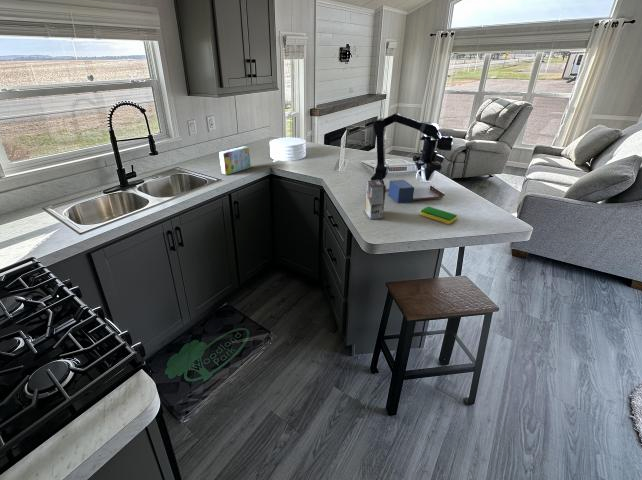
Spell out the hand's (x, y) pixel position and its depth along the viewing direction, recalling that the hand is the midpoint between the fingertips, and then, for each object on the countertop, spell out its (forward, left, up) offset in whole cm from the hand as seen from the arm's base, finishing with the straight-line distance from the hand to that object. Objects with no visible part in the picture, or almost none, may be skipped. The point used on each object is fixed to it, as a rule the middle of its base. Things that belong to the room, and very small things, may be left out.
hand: (424, 178), depth 171 cm
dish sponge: (-5, -25, -11) cm, 27 cm away
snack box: (-100, +67, -11) cm, 121 cm away
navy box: (-3, 0, -10) cm, 11 cm away
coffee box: (-33, -17, -11) cm, 38 cm away
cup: (0, 0, -2) cm, 2 cm away
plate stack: (-60, +97, -11) cm, 115 cm away
